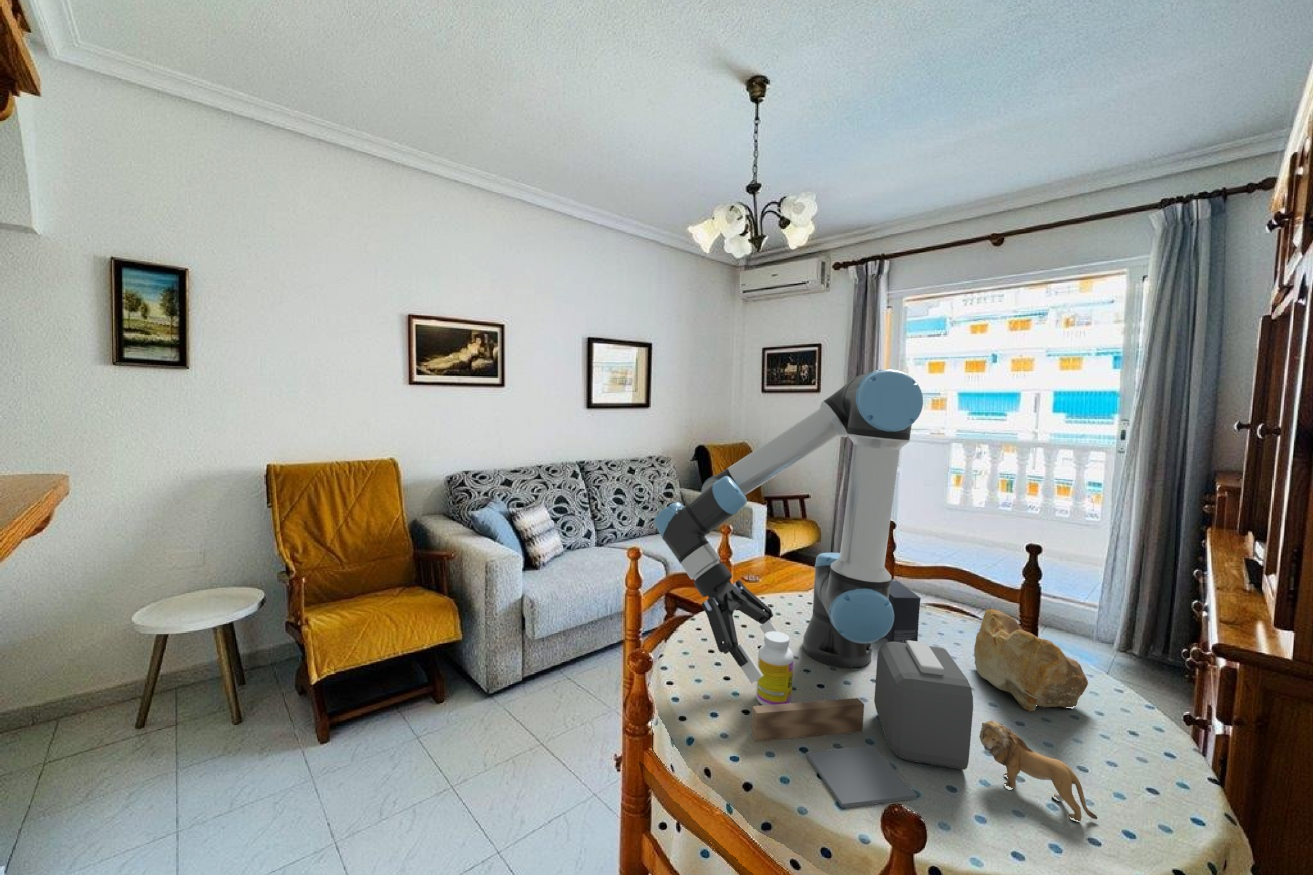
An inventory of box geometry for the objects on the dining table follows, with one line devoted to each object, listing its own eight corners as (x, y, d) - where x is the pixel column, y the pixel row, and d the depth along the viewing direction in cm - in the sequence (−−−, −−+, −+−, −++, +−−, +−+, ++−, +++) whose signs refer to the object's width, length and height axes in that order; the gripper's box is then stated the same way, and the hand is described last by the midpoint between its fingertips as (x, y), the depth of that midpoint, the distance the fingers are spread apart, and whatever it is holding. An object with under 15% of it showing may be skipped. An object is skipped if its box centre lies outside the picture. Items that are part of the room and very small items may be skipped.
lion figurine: (973, 780, 81) (978, 725, 80) (979, 762, 85) (983, 710, 84) (1097, 833, 71) (1103, 771, 71) (1096, 810, 75) (1102, 751, 75)
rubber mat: (872, 748, 87) (872, 745, 87) (916, 798, 76) (916, 794, 76) (806, 755, 85) (806, 751, 85) (842, 807, 74) (842, 803, 74)
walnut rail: (856, 724, 94) (857, 697, 93) (862, 731, 92) (864, 704, 91) (751, 733, 90) (752, 706, 89) (755, 741, 88) (756, 713, 88)
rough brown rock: (1117, 743, 92) (1132, 662, 92) (1015, 721, 95) (1028, 643, 94) (1044, 679, 115) (1055, 613, 114) (963, 663, 118) (974, 599, 117)
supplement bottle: (792, 713, 96) (795, 646, 95) (755, 708, 98) (759, 642, 97) (790, 693, 103) (793, 631, 102) (756, 688, 104) (759, 626, 103)
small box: (867, 621, 139) (870, 577, 138) (892, 621, 139) (895, 578, 138) (890, 644, 126) (894, 596, 125) (918, 645, 126) (922, 597, 125)
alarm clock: (967, 778, 81) (975, 682, 80) (889, 765, 83) (896, 671, 82) (934, 716, 97) (940, 636, 96) (870, 707, 99) (875, 628, 98)
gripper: (722, 566, 119) (781, 649, 112) (662, 598, 98) (729, 702, 91) (745, 548, 116) (807, 632, 108) (687, 577, 95) (759, 683, 88)
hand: (772, 664), depth 100 cm, fingers open, 13 cm apart
